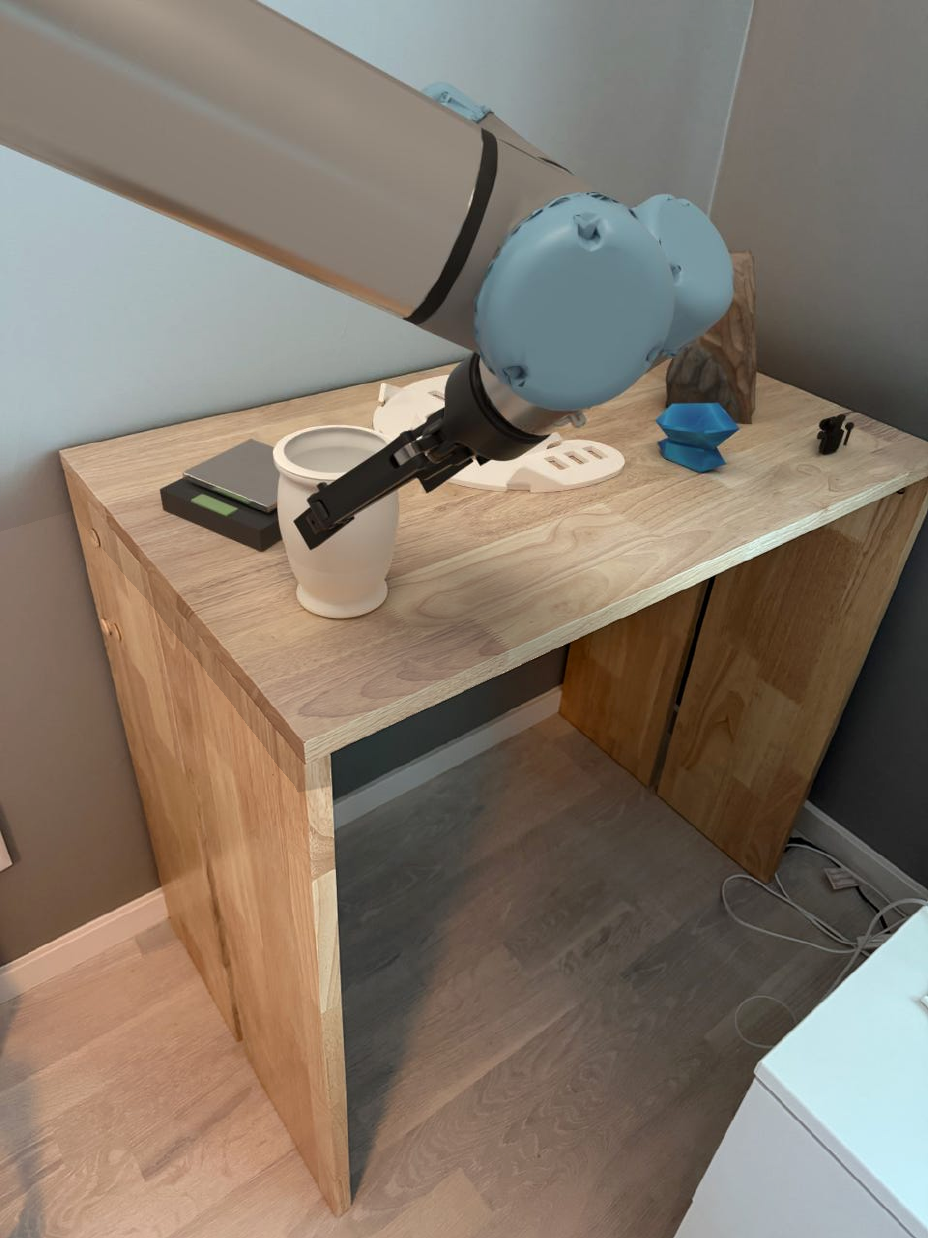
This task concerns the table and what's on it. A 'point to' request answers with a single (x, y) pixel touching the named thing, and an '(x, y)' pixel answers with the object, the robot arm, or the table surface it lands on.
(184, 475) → the scale platform
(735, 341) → the brown rock
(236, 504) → the scale
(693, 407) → the crystal
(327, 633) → the table surface
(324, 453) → the jar
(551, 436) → the cable organizer
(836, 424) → the wireless earbuds
